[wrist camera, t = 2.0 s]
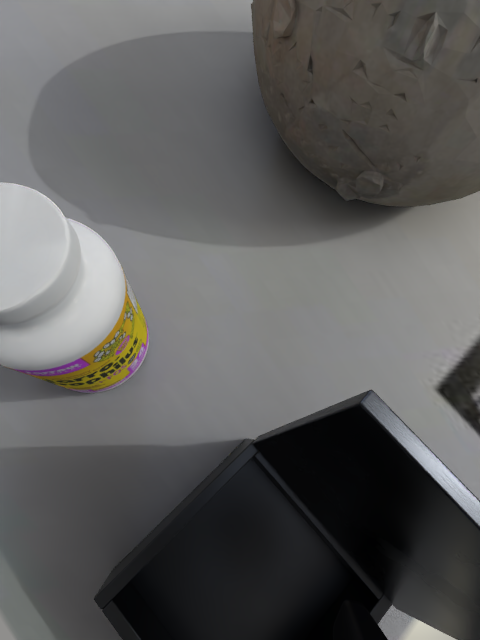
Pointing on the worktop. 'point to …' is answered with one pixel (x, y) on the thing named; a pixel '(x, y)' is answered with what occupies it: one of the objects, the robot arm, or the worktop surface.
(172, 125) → the worktop surface
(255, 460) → the black open box
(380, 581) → the lid
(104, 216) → the worktop surface
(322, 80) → the bowl
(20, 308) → the supplement bottle
